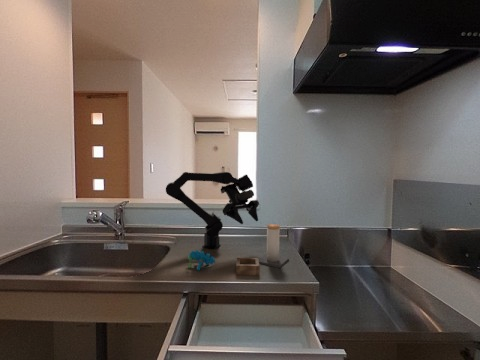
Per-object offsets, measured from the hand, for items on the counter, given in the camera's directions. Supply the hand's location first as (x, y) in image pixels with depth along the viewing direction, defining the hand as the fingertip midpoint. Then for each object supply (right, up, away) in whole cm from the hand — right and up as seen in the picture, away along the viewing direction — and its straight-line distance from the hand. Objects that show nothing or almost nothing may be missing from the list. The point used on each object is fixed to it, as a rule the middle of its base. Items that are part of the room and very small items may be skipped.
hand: (250, 222), depth 124 cm
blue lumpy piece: (-20, -15, -18) cm, 30 cm away
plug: (+9, -14, -11) cm, 19 cm away
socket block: (-2, -15, -21) cm, 26 cm away
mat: (+9, -14, -11) cm, 20 cm away
